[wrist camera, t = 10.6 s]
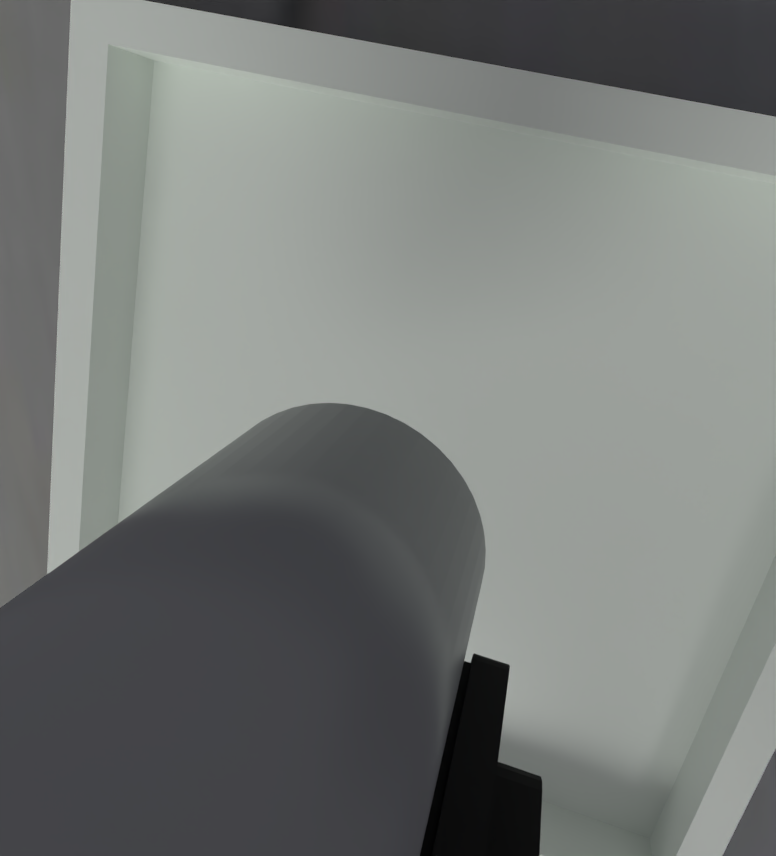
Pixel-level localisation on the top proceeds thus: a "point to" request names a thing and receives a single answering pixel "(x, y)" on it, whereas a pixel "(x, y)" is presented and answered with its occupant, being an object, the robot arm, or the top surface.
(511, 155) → the tray
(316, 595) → the plug
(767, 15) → the top surface
